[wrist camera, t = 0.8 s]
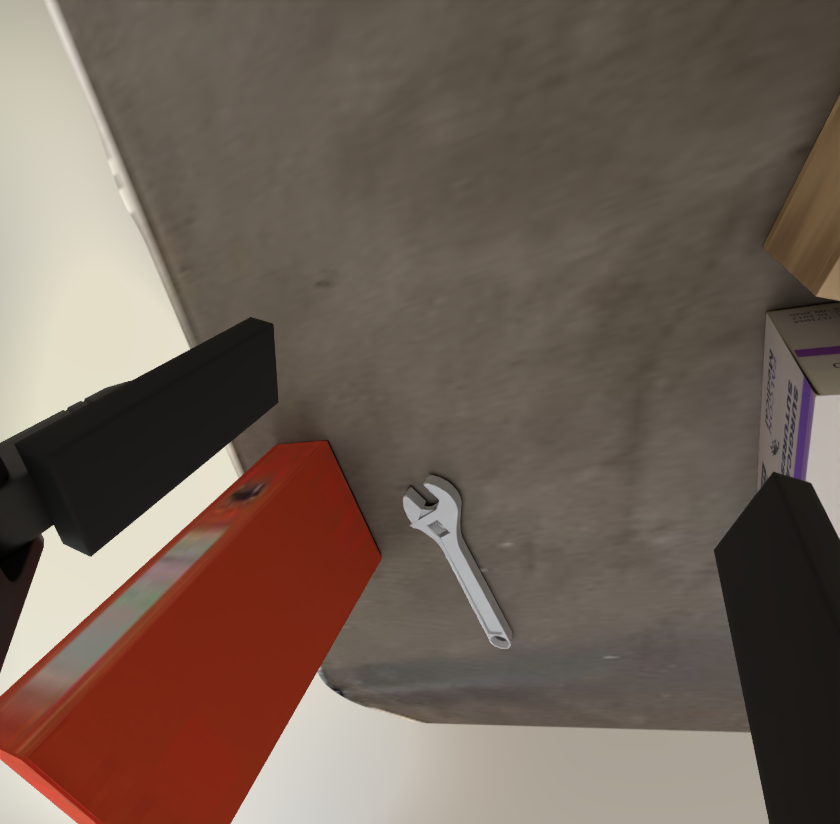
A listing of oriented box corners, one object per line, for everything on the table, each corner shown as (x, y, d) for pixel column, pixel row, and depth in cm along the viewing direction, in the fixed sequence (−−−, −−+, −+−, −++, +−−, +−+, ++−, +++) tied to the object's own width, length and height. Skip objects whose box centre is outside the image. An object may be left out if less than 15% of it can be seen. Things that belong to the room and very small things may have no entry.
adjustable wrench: (517, 638, 56) (514, 652, 55) (468, 633, 59) (464, 646, 58) (452, 474, 46) (447, 485, 45) (398, 478, 50) (391, 488, 48)
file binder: (330, 554, 61) (121, 862, 36) (273, 444, 54) (-38, 731, 29) (382, 556, 57) (189, 902, 32) (328, 439, 50) (26, 762, 25)
